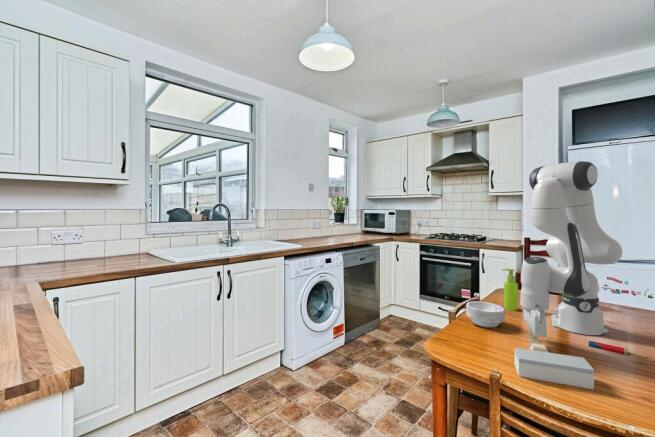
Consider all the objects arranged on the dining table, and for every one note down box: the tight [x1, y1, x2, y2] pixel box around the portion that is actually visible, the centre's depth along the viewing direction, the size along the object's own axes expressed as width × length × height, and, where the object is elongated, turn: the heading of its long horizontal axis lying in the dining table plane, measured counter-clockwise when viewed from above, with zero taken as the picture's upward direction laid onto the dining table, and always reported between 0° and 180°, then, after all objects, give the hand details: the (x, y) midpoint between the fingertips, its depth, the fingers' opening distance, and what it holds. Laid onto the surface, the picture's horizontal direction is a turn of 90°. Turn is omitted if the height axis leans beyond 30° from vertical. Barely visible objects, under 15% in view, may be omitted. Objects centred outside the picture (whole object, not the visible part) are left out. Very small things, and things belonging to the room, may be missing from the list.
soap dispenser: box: [501, 268, 519, 312], centre depth 159 cm, size 6×7×20 cm
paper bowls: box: [465, 300, 506, 328], centre depth 138 cm, size 15×15×8 cm
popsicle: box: [588, 340, 647, 359], centre depth 112 cm, size 5×2×15 cm
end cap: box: [513, 347, 595, 390], centre depth 95 cm, size 8×18×5 cm, turn 67°
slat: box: [528, 339, 550, 353], centre depth 107 cm, size 16×4×3 cm, turn 157°
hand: (533, 339), depth 116 cm, fingers closed
